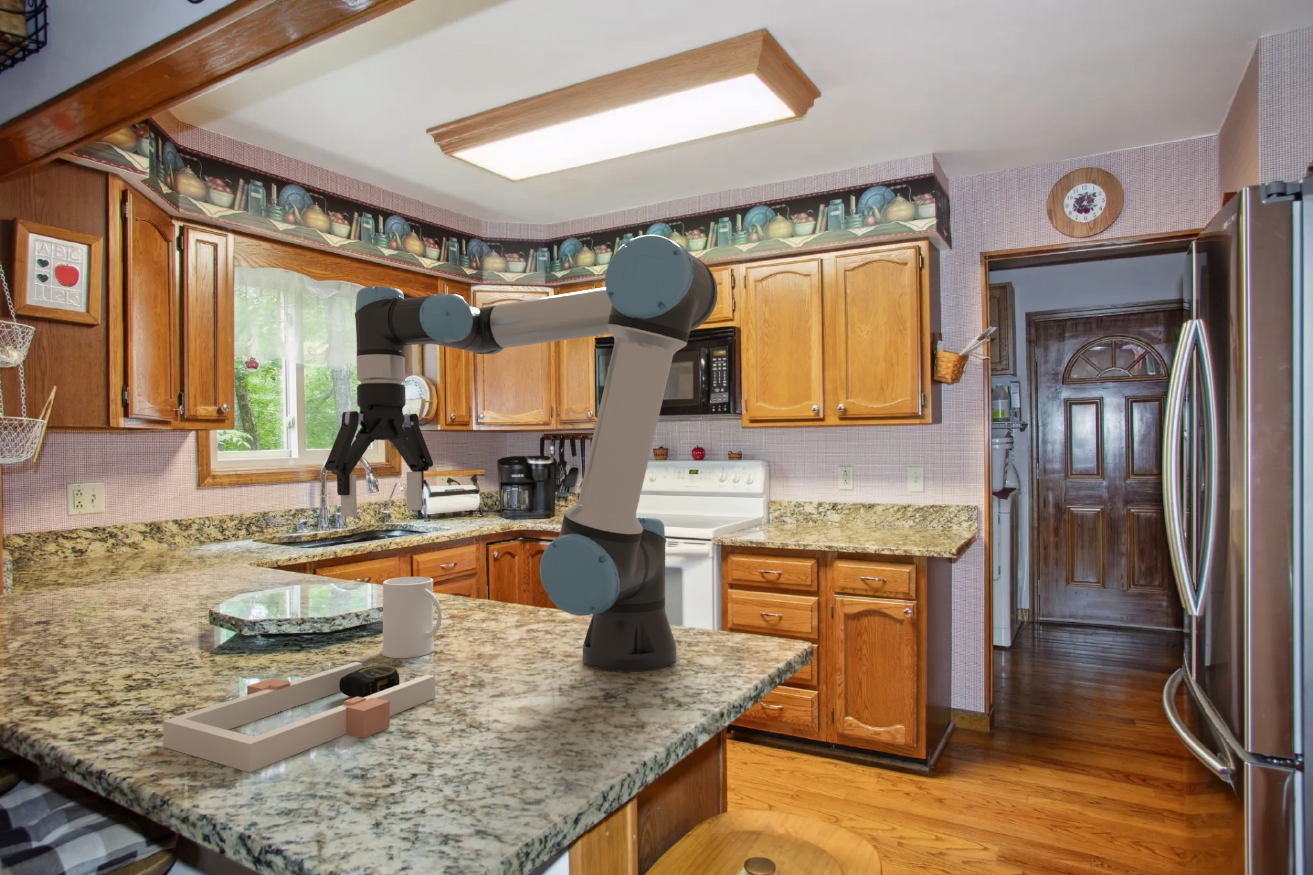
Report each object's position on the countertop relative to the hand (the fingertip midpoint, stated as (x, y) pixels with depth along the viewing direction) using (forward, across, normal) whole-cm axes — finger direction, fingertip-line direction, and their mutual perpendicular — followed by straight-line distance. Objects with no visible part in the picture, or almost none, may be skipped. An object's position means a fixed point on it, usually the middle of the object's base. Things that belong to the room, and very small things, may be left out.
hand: (383, 513), depth 127 cm
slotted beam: (+24, +24, +14) cm, 37 cm away
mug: (+24, -5, +2) cm, 24 cm away
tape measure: (+24, +15, +14) cm, 32 cm away
